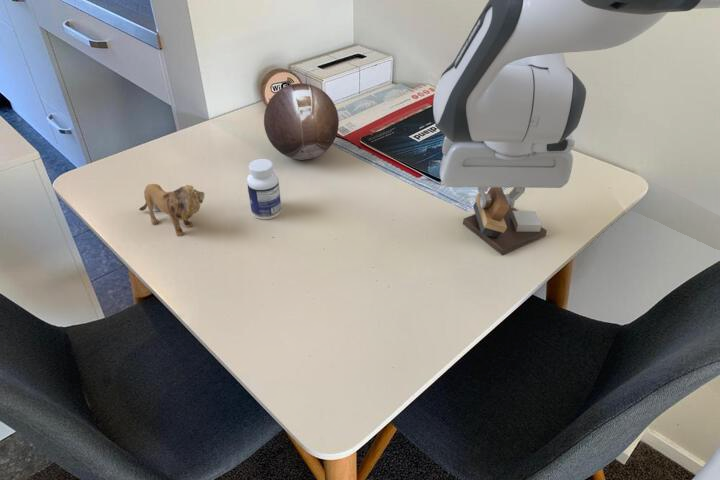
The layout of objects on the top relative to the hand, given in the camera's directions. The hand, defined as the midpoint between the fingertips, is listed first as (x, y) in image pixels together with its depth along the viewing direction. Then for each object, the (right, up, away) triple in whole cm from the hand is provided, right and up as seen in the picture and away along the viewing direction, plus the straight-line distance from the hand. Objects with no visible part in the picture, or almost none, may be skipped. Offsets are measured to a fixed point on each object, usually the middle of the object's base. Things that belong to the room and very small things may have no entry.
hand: (496, 205), depth 87 cm
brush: (-1, -3, +2) cm, 4 cm away
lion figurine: (-55, -3, +4) cm, 55 cm away
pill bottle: (-40, -1, +7) cm, 40 cm away
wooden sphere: (-35, +12, +23) cm, 43 cm away
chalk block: (+6, -3, +2) cm, 7 cm away
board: (+2, -4, +3) cm, 5 cm away
